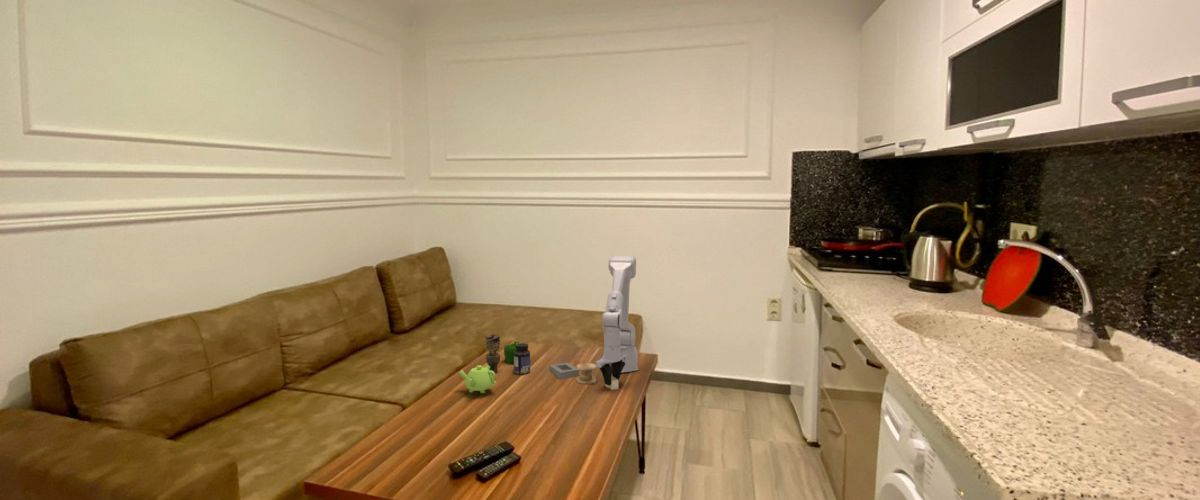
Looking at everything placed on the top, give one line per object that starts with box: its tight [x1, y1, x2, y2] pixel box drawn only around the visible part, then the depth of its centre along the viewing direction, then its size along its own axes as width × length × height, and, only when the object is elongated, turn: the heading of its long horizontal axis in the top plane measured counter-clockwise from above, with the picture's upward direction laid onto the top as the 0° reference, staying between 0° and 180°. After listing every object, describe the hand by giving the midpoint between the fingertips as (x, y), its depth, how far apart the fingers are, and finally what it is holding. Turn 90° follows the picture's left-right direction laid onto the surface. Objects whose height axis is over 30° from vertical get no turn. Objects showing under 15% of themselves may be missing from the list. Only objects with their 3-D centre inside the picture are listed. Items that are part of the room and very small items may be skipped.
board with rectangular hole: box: [549, 362, 580, 380], centre depth 195 cm, size 8×10×2 cm
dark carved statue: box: [485, 333, 501, 373], centre depth 195 cm, size 6×6×15 cm
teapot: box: [458, 364, 497, 394], centre depth 177 cm, size 11×12×8 cm
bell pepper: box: [503, 340, 520, 365], centre depth 207 cm, size 8×8×10 cm
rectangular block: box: [604, 376, 619, 391], centre depth 181 cm, size 3×5×3 cm, turn 28°
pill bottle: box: [513, 342, 531, 376], centre depth 196 cm, size 6×6×11 cm
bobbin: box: [576, 362, 597, 385], centre depth 187 cm, size 7×7×6 cm
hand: (611, 383), depth 181 cm, fingers closed on rectangular block, 4 cm apart
